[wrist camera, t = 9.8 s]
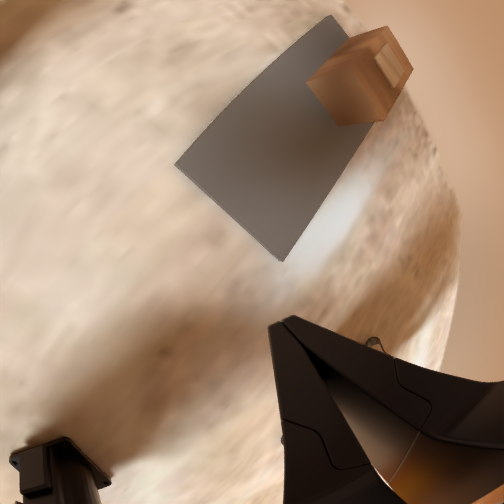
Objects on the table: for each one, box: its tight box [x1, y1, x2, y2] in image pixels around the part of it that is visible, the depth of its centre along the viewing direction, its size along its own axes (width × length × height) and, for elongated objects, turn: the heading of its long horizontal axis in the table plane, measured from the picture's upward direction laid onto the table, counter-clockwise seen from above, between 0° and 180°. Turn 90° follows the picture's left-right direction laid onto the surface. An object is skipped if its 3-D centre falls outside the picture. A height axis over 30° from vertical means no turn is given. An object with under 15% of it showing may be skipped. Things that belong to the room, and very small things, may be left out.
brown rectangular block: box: [306, 26, 413, 127], centre depth 20 cm, size 5×5×8 cm
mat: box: [175, 15, 374, 262], centre depth 21 cm, size 20×10×1 cm, turn 138°
